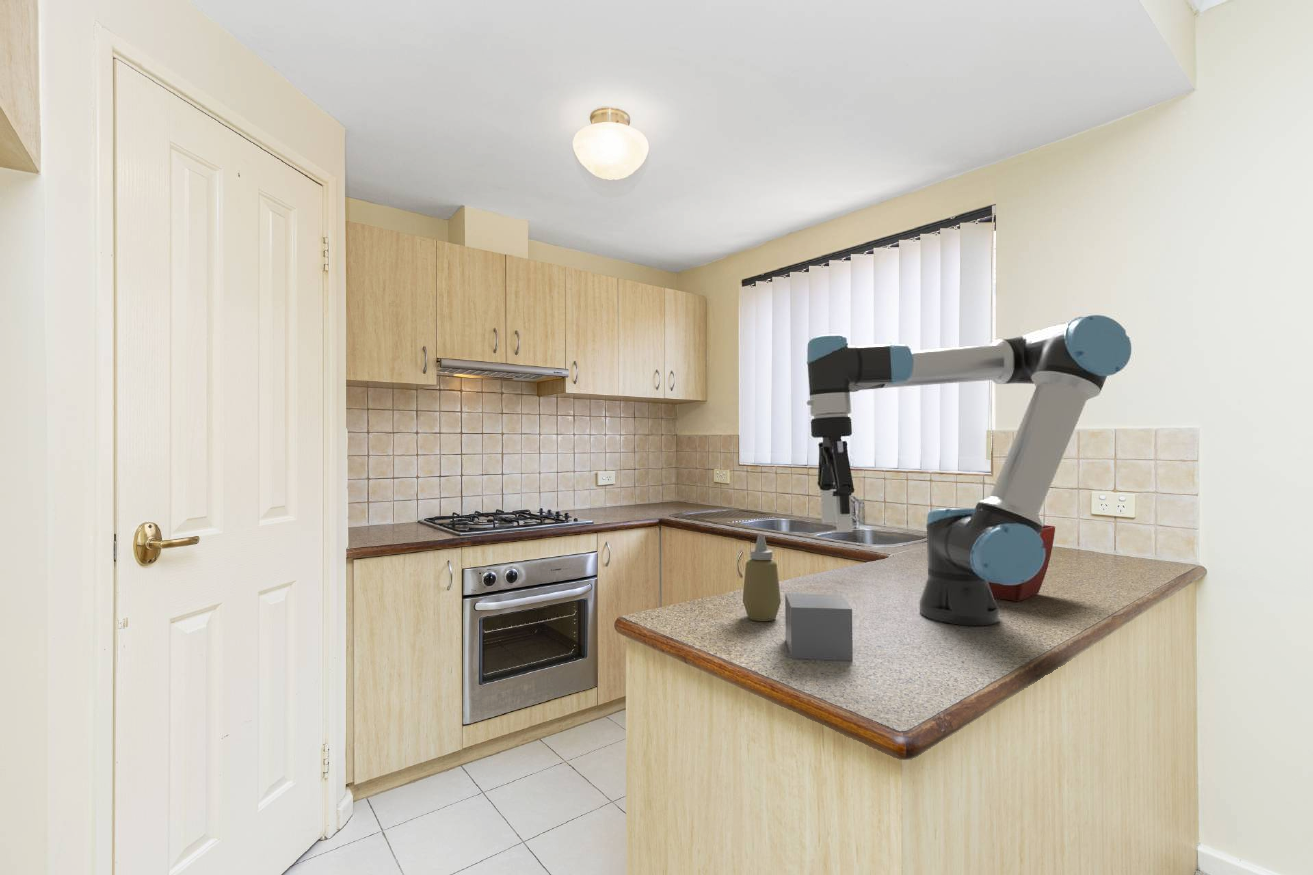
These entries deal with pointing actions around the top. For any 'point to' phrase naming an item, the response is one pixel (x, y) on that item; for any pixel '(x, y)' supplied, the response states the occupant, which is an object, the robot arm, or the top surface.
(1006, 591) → the plant pot
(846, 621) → the grey cubic block
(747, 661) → the top surface
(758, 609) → the squeeze bottle
